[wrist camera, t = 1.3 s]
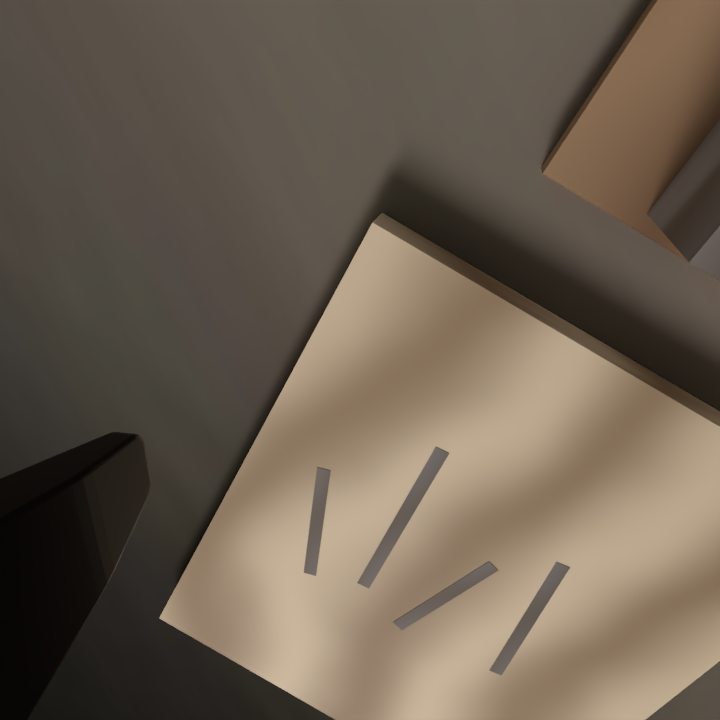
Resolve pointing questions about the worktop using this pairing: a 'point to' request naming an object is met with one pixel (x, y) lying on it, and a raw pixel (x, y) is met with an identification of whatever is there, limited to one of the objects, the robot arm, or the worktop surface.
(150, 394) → the worktop surface
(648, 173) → the block
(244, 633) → the sanding board
